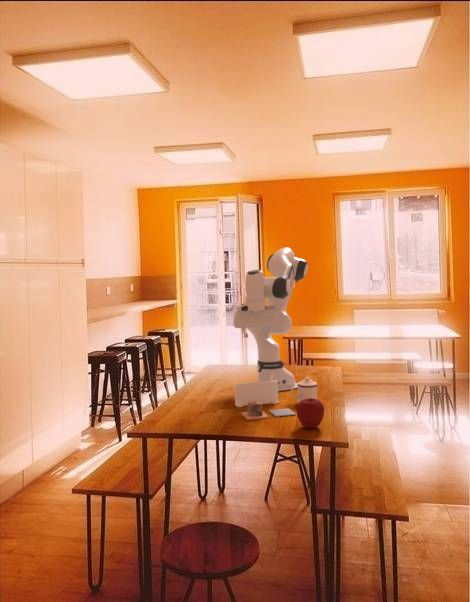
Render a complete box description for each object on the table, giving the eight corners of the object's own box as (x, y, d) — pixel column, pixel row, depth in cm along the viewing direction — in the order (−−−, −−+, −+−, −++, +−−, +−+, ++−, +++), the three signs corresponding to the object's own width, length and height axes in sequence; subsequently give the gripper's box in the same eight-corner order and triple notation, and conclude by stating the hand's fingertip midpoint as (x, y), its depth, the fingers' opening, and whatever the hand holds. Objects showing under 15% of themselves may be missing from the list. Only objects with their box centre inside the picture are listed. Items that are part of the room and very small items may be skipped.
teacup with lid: (317, 400, 238) (317, 375, 237) (317, 405, 229) (317, 380, 228) (291, 400, 240) (291, 375, 239) (290, 405, 231) (290, 379, 230)
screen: (276, 400, 239) (275, 379, 239) (279, 403, 234) (279, 381, 234) (234, 404, 235) (233, 382, 234) (236, 407, 230) (236, 385, 229)
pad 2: (288, 409, 224) (288, 408, 224) (295, 415, 215) (295, 413, 215) (268, 411, 222) (268, 410, 222) (275, 417, 213) (275, 415, 213)
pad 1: (262, 412, 221) (262, 410, 221) (268, 417, 212) (268, 416, 212) (241, 413, 219) (241, 412, 219) (247, 419, 210) (247, 418, 210)
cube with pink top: (259, 412, 219) (258, 400, 218) (262, 415, 214) (262, 403, 213) (247, 413, 217) (247, 401, 217) (250, 416, 213) (250, 404, 212)
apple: (299, 422, 205) (298, 393, 204) (326, 424, 202) (325, 394, 201) (294, 431, 195) (293, 400, 194) (322, 433, 192) (322, 402, 191)
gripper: (275, 304, 236) (276, 334, 237) (232, 306, 231) (232, 337, 232) (279, 305, 230) (280, 336, 231) (235, 307, 225) (236, 339, 226)
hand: (256, 337), depth 232 cm, fingers open, 8 cm apart
